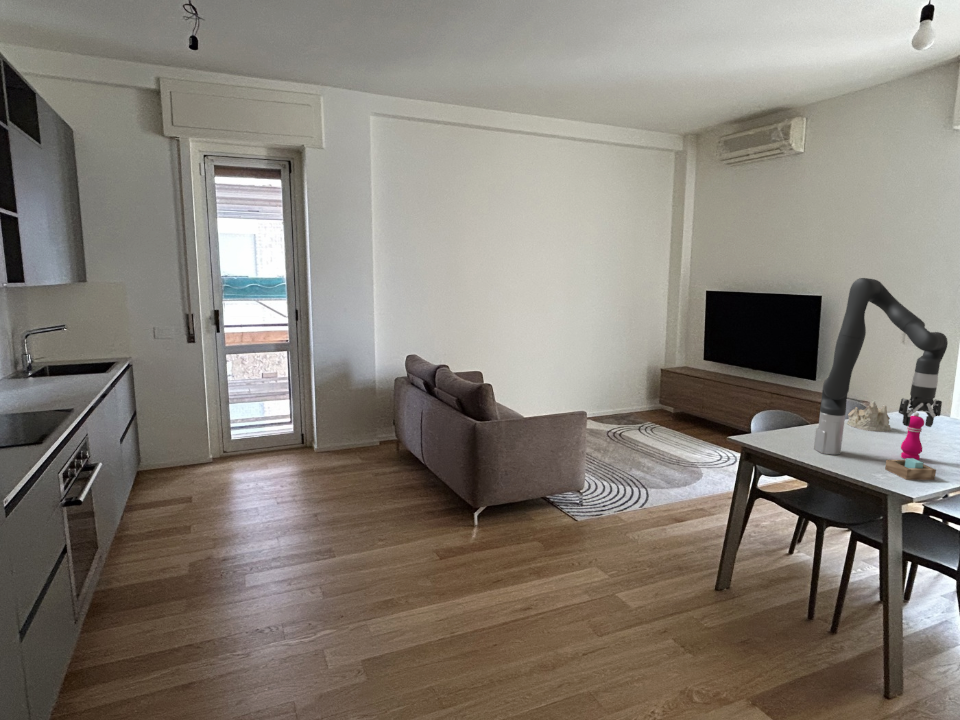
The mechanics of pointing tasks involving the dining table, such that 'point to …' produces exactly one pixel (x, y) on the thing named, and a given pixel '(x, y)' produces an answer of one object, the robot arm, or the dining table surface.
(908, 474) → the wooden tray
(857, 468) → the dining table surface
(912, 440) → the pepper mill
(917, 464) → the teal block
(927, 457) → the dining table surface
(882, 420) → the cream rough lump
